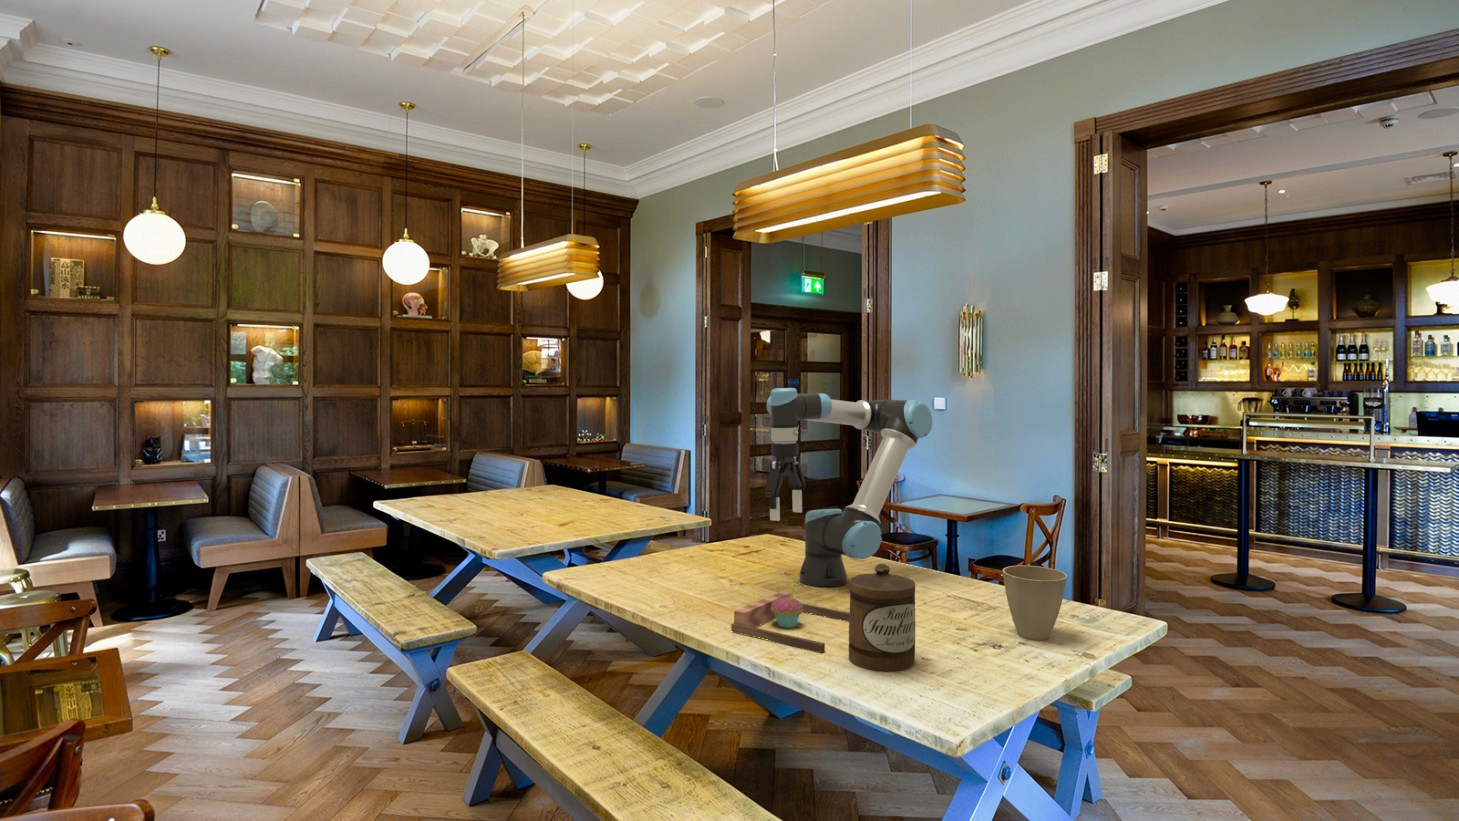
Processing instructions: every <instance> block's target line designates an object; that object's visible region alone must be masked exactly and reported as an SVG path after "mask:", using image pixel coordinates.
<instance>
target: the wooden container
mask: <svg viewBox="0 0 1459 821" xmlns="http://www.w3.org/2000/svg"><path fill="white" fill-rule="evenodd" d="M890 570H891V568H890V566H889V565H887V564H886V563H878V564H877V565H876V564H875V566H874V571H875V573H874V572H873V573H862V574H858V575H854V576H853V577H851V578H850V581H849V613H850V615H849V621H848V659H849V661H850V662H851V663H853V664H854V665H856V666H858V667H861V668H863V669H865V670H866V669H867V670H872V671H877V672H895V671H896V672H898V671H904V670H907V669H909V668H911V667H912V666H914V665H915V661H916V660H915V659H916V658H915V657H916V583H915V580H913V579H911V578H910V577H909V578H908V577H906V576H902V575H898V574H890Z"/></svg>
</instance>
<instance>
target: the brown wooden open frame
mask: <svg viewBox="0 0 1459 821" xmlns="http://www.w3.org/2000/svg"><path fill="white" fill-rule="evenodd" d="M790 595H791V591H788V590H781V591H779V592H777V593H775V594H772V595H770V596H769V595H768V596H767V597H765V598H763V599H760V600H757V601H755V602H753V603H750V604H748V605H746V606H743V607H741V608H739V609H736V610H734V611H733V623H731V624H730V626H731V627H730V628H731V630H730V631H733V632H732V633H734V632H738V633H742V634H746V635H745V636H747V635H750V636H749V637H751V636H755V637H760V638H764V639H768V640H771V641H770V642H773V641H774V642H773V643H777V642H778V643H777V644H781V645H786V646H791V647H794V646H795V647H794V648H798V647H799V648H798V649H804V650H807V651H812V652H816V653H821V654H824V653H826V649H825V648H826V644H825V642H822V641H816V640H812V639H807V638H803V637H799V636H794V635H790V634H785V633H781V632H776V631H773V630H768V629H763V628H759V627H760V626H761V625H760V624H762V625H764V624H766V623H768V622H770V621H772V620H774V618H775V619H776V616H775V614H774V613H772V612H771V604H772V602H773V601H775V600H776V599H779V598H785V597H786V598H788V597H790ZM801 604H802V605H803V606H804V608H803V612H802V613H804V612H808V613H807V614H809V613H812V614H811V615H814V614H816V615H815V616H819V615H820V616H819V617H824V616H826V617H825V618H829V617H831V618H830V619H834V618H836V620H839V619H841V620H840V621H844V620H845V621H844V622H849V615H850V612H848V611H843V610H837V609H832V608H827V607H822V606H817V605H811V604H806V603H802V602H801ZM769 620H770V621H769ZM767 621H768V622H767ZM765 622H766V623H765ZM763 623H764V624H763ZM759 625H760V626H759ZM756 626H757V627H756ZM738 633H737V634H738ZM742 634H741V635H742ZM755 637H754V638H755ZM760 638H759V639H760ZM764 639H763V640H764ZM768 640H767V641H768Z"/></svg>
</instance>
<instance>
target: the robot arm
mask: <svg viewBox="0 0 1459 821" xmlns="http://www.w3.org/2000/svg"><path fill="white" fill-rule="evenodd" d="M766 410H767V413H768V414H769V415H770V423H771V424H770V427H771V428H770V430H771V432H770V434H771V442H772V443H771V456H773V457H774V458H775V457H776V458H775V461H773V460H772V461H771V460H770V461H769V472H768V475H767V476H768V477H767V480H766V486H765V490H764V495H765V497H766V498H769V521H775V522H776V521H777V522H779V521H781V515H780V514H781V513H780V511H781V510H780V509H781V508H780V497H779V493H780V490H781V487H782V485H783V481H784V479H785V478H786V477H787V478H788V479H789V481H790V484H791V485H792V487H793V489H792V490H791V492H792V493H791V494H792V499H791V500H792V512H793V513H803V495H802V494H803V492H802V490H803V491H804V490H805V489H806V479H805V476H804V472H803V469H802V466H801V458H800V456H798V455H799V443H797V441H799V440H798V439H799V438H798V437H799V436H798V435H799V431H798V424H799V422H798V421H809V422H818V423H820V422H822V423H828V424H829V423H830V424H837V425H847V426H853V427H854V428H855V429H857V430H862V431H863V430H864V431H868V432H873V433H877V434H880V435H881V437H882V439H881V442H880V443H879V446H878V448H877V450H876V452H875V454H874V457H873V458H872V461H871V463H870V465H869V468H868V470H867V472H866V474H865V475H864V476H865V477H864V479H863V481H862V483H861V485H860V487H859V489H858V492H857V493H856V495H855V498H854V501H853V502H852V503H851V504H850V505H847V506H845V507H844V509H843V512H842V509H840V508H822V509H813V510H809V511H807V512H806V514H805V519H804V547H805V548H804V550H805V551H804V553H805V554H804V560H803V563H802V565H801V569H800V571H799V582H800V581H801V582H800V583H802V582H803V583H802V584H804V583H805V584H804V585H807V584H810V585H809V586H811V585H814V586H813V587H818V586H834V587H839V586H838V585H841V586H844V585H846V584H847V583H848V575H847V574H848V573H847V571H846V567H845V564H844V561H843V556H846V557H848V558H850V559H851V558H852V559H858V560H865V559H868V558H870V557H872V556H873V555H874V554H876V552H877V551H878V550H879V548H880V547H881V543H882V540H883V538H882V529H881V526H880V525H881V522H882V521H881V520H880V517H879V516H880V513H881V511H882V509H883V506H884V505H885V502H886V501H887V498H888V496H889V493H890V491H891V490H892V487H893V485H894V482H895V480H896V477H897V476H898V473H899V471H900V470H901V467H902V464H903V462H904V460H905V458H906V455H907V453H908V451H909V450H911V449H914V448H915V447H916V445H917V443H918V440H919V439H922V438H925V437H927V436H928V435H929V434H930V433H931V431H932V427H933V416H932V411H931V410H930V407H929V406H928V405H927V404H926V403H924V402H923V401H921V400H914V399H907V400H906V399H876V400H863V399H861V400H857V401H856V402H855V401H848V400H847V401H846V400H839V399H831V397H830V396H829V395H828V394H826V393H819V392H815V393H798V390H797V388H794V387H784V388H783V387H781V388H778V387H777V388H773V389H772V390H771V392H770V396H769V397H768V399H767V401H766ZM842 555H843V556H842ZM845 583H846V584H845ZM843 584H844V585H843Z"/></svg>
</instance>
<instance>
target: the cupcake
mask: <svg viewBox="0 0 1459 821" xmlns="http://www.w3.org/2000/svg"><path fill="white" fill-rule="evenodd" d="M795 582H796V580H794V581H793V582H792V583H791V589H790V592H791V595H790V597H788V598H786V597H785V598H779V599H776V600H775V601H773V602H772V604H771V612H772V613H774V614H775V616H776V618H775V619H776V622H777V625H778V627H781V628H785V629H786V628H787V629H788V628H790V627H791V628H794V627H796V626H797V623H798V621H799V617H800V615H802V613H804V612H803V608H804V606H803V605H802V604H803V603H802V602H801V601H799V600H798V599H797V598H794V592H795V585H796V583H795ZM801 603H802V604H801Z"/></svg>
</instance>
